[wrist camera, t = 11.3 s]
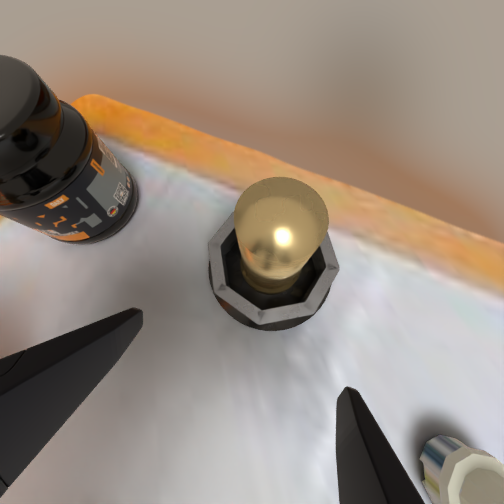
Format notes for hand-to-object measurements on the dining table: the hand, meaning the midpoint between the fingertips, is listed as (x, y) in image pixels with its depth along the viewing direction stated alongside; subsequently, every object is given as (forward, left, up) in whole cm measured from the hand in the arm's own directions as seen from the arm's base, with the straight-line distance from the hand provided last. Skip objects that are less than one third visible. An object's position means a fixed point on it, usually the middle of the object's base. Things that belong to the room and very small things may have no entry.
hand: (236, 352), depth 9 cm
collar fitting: (+3, +6, -11) cm, 13 cm away
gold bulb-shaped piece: (+3, +6, -10) cm, 12 cm away
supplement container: (-15, +17, -11) cm, 25 cm away
